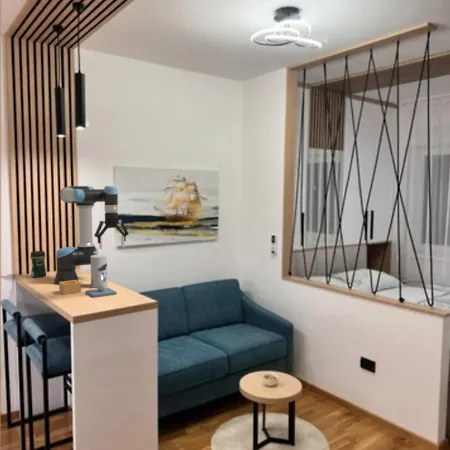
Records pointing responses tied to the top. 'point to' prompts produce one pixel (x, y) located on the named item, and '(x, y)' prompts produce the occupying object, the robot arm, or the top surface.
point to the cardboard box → (69, 287)
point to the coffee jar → (38, 264)
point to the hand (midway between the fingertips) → (112, 247)
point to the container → (98, 269)
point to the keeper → (101, 289)
